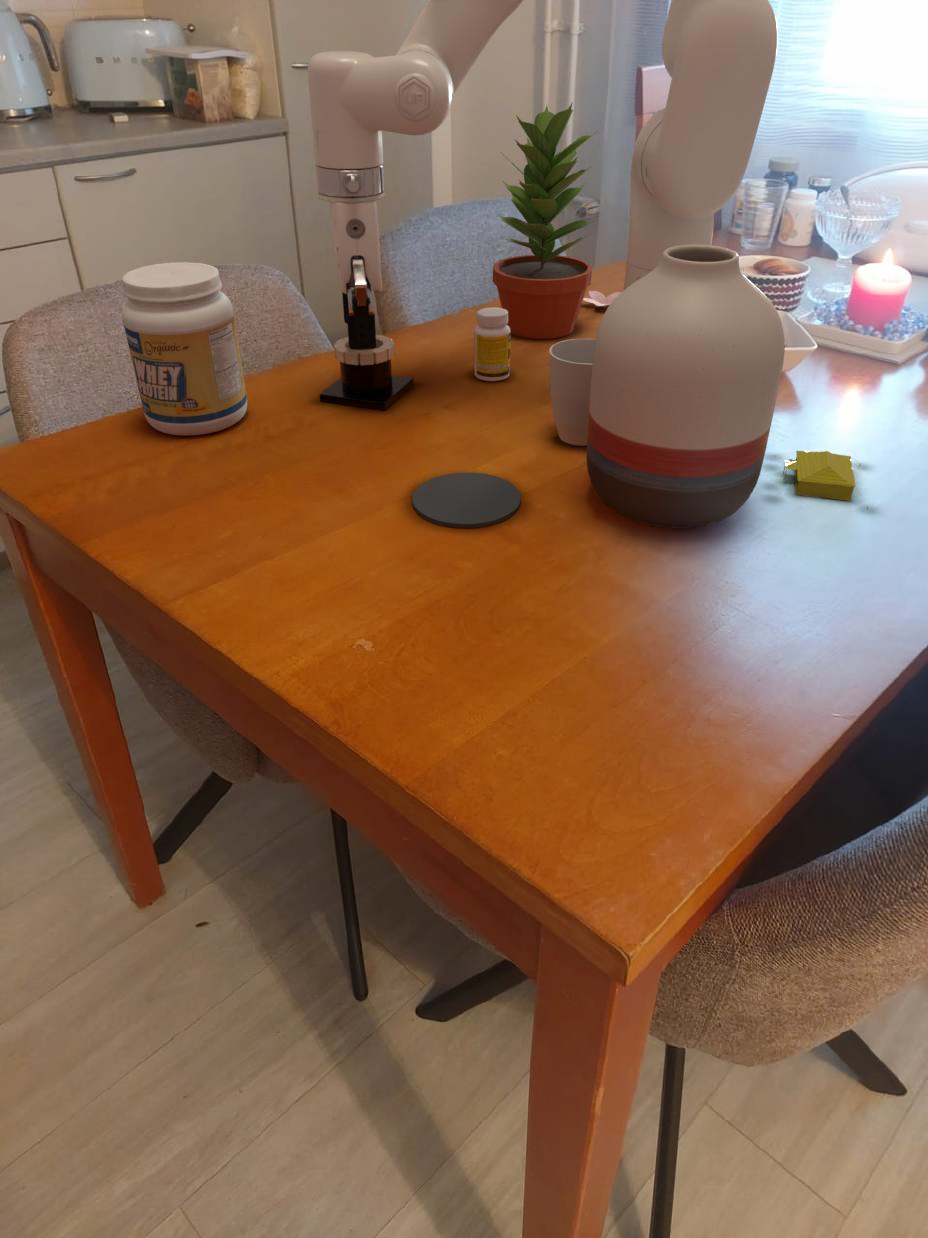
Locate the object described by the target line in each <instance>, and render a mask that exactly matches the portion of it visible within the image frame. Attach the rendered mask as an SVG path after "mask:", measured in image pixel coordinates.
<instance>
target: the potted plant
mask: <svg viewBox="0 0 928 1238" xmlns="http://www.w3.org/2000/svg"><path fill="white" fill-rule="evenodd" d="M573 103H574V102H571V103H570V105H569V106H568V108H566V109H564V110H561V111H558V112H557V113H553V112H551V111H549V107H548V105H546V106H545V109H544V111H542V112H539V113H537V114H536V115H535V118H534V123H531V122H527V121H523V120H522V119H521V118H520V117H519V116H518V115H517V114H515V116H516V118H517V120H518V123H519V126H521V128H522V130H523V131H524V133H525V134H526V136H527V137H526V138H527V140H526V142H527V143H525V144H522V143H520V142H519V141H518V140H516V139H514V141H515V143H516V145H517V146H518V148H519V149H520V150H521V151H522V152H523V154H524V157H525V160H526V163H527V164H525V166H524V168H523V171H522V170H521V169H520V168H519V167H518V166H517V165H516V164H515V163H513V162H512V161H511V160H510V159H509V158H508V157H507V156H506V155H505V154H504V153H503V152H502V151H500V153H501V154H502V155H503V156H504V157H505V158H506V159H507V160H508V161H509V162H510V163H511V164H512V165H513V166H514V167H515V168H516V169H517V170H518V171H519V172H520V173H521V174H522V175H523V181H524V182H522V181H521V180H520V179H519V180H518V181H519V182H518V184H519V185H520V186H518V185H511V184H508V183H506V182H505V181H504V180H502V182H503V184H504V185H505V187H506V189H507V190H508V191H509V192H510V194H511V196H512V197H511V199H510V201H511V202H512V203H513V205H514V206H515V208H516V209H517V211H518V212H519V213H520V214H521V216H522V217H523V219H524V220H525V221H523V220H521V219H519V218H516V217H513V216H502V215H500V214H497V216H498V217H499V218H500V221H502V222H504V223H505V224H507V226H510V227H511V228H513V229H514V230H516V231H517V232H519V233H521V234H522V235H524V236H525V237H527V238H528V242H527V241H520V240H517V239H513V238H507V239H504V240H506V241H508V242H511V243H514V244H517V245H520V246H522V247H524V248H528V249H530V251H531V253H532V254H523V255H515V256H510V257H507V258H503V259H500V260H498V261H496V262H495V263H494V264H493V266H492V283H493V284H494V285H495V286H496V289H497V293H498V298H499V302H500V306H501V307H500V308H503V309H505V310H507V311H508V323H507V324H506V325H508V326H509V328H510V331H511V334H512V335H514V336H517V337H520V338H524V339H533V340H551V339H558V338H563V337H566V336H568V335H570V334H571V333H572V332H574V329H575V326H576V323H577V320H578V317H579V313H580V311H581V308H582V304H583V301H584V300H583V298H585V294H586V291H587V288H588V287H590V286H591V285H592V278H593V277H592V276H593V265H592V264H591V263H590V262H588V261H586V260H583V259H581V258H577V257H572V256H567V255H561V254H562V253H564V252H565V251H567V250H568V249H570V248H571V247H572V246H574V245H576V244H577V243H579V242H580V241H582V240H583V239H585V238H586V237H587V235H585V236H583V237H579V238H578V239H575V240H573V241H570V242H568V243H565V244H563V245H561V246H559V247H558V248H556V249H554V248H555V245H556V240H558V239H560V238H562V237H564V236H567V235H568V234H571V233H573V232H575V231H577V230H580V229H581V228H584V227H587V226H588V225H590V224H593V223H594V222H596V221H597V219H595V220H593V221H588V220H585V219H580V220H575V221H573V222H570V223H567V224H565V225H563V226H561V227H559V228H557V229H556V230H555V227H554V225H553V224H552V222H553V221H554V220H555V218H556V217H557V216H559V215H560V213H561V212H562V211H563V210H565V208H566V207H567V206H568V205H569V204H570V203H571V202H572V201H573V200H574V199H575V198H576V197H577V196H578V195H579V193H580V192H581V191H582V190H583V188H584V186H585V185H586V184H587V183H586V182H585V183H584V184H582V185H580V187H569V186H571V185H572V184H573V183H574V182H575V181H576V180H577V179H579V178H580V177H581V176H582V175H583V174H585V173H586V172H587V171H588V170H589V169H590V168H591V166H589V167H588V168H586V169H580V170H578V171H576V172H574V173H571V174H569V173H570V172H571V171H572V169H573V168H574V167H575V165H576V164H577V163H578V158H579V156H577V155H578V153H577V149H578V148H580V147H581V146H582V145H583V144H584V143H586V142H588V140H589V139H591V138H592V137H593V136H594V135H595V134H596V133H598V132H599V131H598V130H597V131H596V132H594V133H592V135H583V136H580V137H578V138H577V139H576V140H575V141H573V142H572V143H570V144H569V145H568V146H566V147H565V148H564V149H563V150H562V151H559V152H557V147H558V145H559V143H560V141H561V139H562V136H563V134H564V132H565V130H566V129H567V125H568V123H569V121H570V118H571V116H572V114H573V112H574V110H573ZM556 152H557V153H556ZM568 187H569V188H568Z"/></svg>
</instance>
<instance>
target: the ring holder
mask: <svg viewBox="0 0 928 1238" xmlns="http://www.w3.org/2000/svg"><path fill="white" fill-rule="evenodd" d="M356 350H372V349H356ZM339 369H340V378H339V379H338V380H336V381H335V382H334V383H332V384H331V385H329V386H328V387H327V388H326V389H324V390H323V391H322V392H320V393H319V401H320V402H321V403H329V404H334V405H335V404H336V405H341V406H348V407H349V406H350V407H357V408H364V409H371V410H378V411H386V410H388V409H389V408H390V407H391V406H392V405H393V404H395V403H396V402H397V401H398V400H399V399H400V398H401V397H402V396H404V395H405V394H406V393H407V392H408V391H409V390H410V389H412V388H413V387H414V385H415V380H414V379H415V378H414V377H410V376H401V375H393V371H392V370H393V369H392V358H391V359H390V360H387V361H385V362H382V363H378V364H376V363H374V364H373V365H361V364H359V365H351V364H346V363H342V362H340V361H339Z"/></svg>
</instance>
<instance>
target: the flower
mask: <svg viewBox="0 0 928 1238" xmlns="http://www.w3.org/2000/svg"><path fill="white" fill-rule="evenodd" d="M622 292H623V291H615V292H612V293H610V294H609V295H607V296H606V295H604V294H603V293H602V292H600V291H597V290H593V289H592V290H589V291H588V296H589V297H590V298H589V297H584V298H583V301H585V302H587V303H590V304H594V305H595V306H596V307H605V306H610V304H611V303H612V301H613V300H614V299H615V298H616V297H617V296H618V295H619V294H620V293H622Z"/></svg>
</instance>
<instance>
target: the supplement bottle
mask: <svg viewBox="0 0 928 1238" xmlns="http://www.w3.org/2000/svg"><path fill="white" fill-rule="evenodd" d="M507 323H508V311H507V310H505V309H503V308H502V307H484V308H480V309H479V310H477V311H476V324H477V325H476V326H475V327H474V331H473V356H474V357H473V361H474V362H473V371H474V373H473V374H474V376H475V377H476V378H477V379H478V380H480V381H485V382H499V381H503V380H506V379H507V378H509V377H510V375H511V337H512V336H511V334H512V333H511V331H510V328H509V326H508V325H506V324H507Z"/></svg>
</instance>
